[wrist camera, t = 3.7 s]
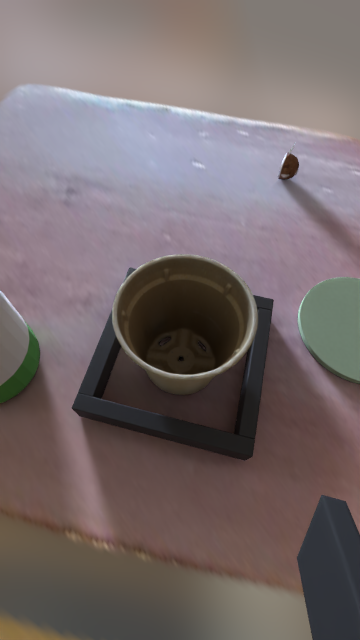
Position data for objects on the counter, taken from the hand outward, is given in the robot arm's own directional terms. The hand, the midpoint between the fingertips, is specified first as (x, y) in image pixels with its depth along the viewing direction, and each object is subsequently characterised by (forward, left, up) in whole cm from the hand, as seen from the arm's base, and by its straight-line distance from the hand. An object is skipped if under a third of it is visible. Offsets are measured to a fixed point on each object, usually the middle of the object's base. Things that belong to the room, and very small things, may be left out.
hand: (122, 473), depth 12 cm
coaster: (+23, +3, -14) cm, 27 cm away
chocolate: (+30, +23, -15) cm, 40 cm away
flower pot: (+7, +8, -15) cm, 18 cm away
